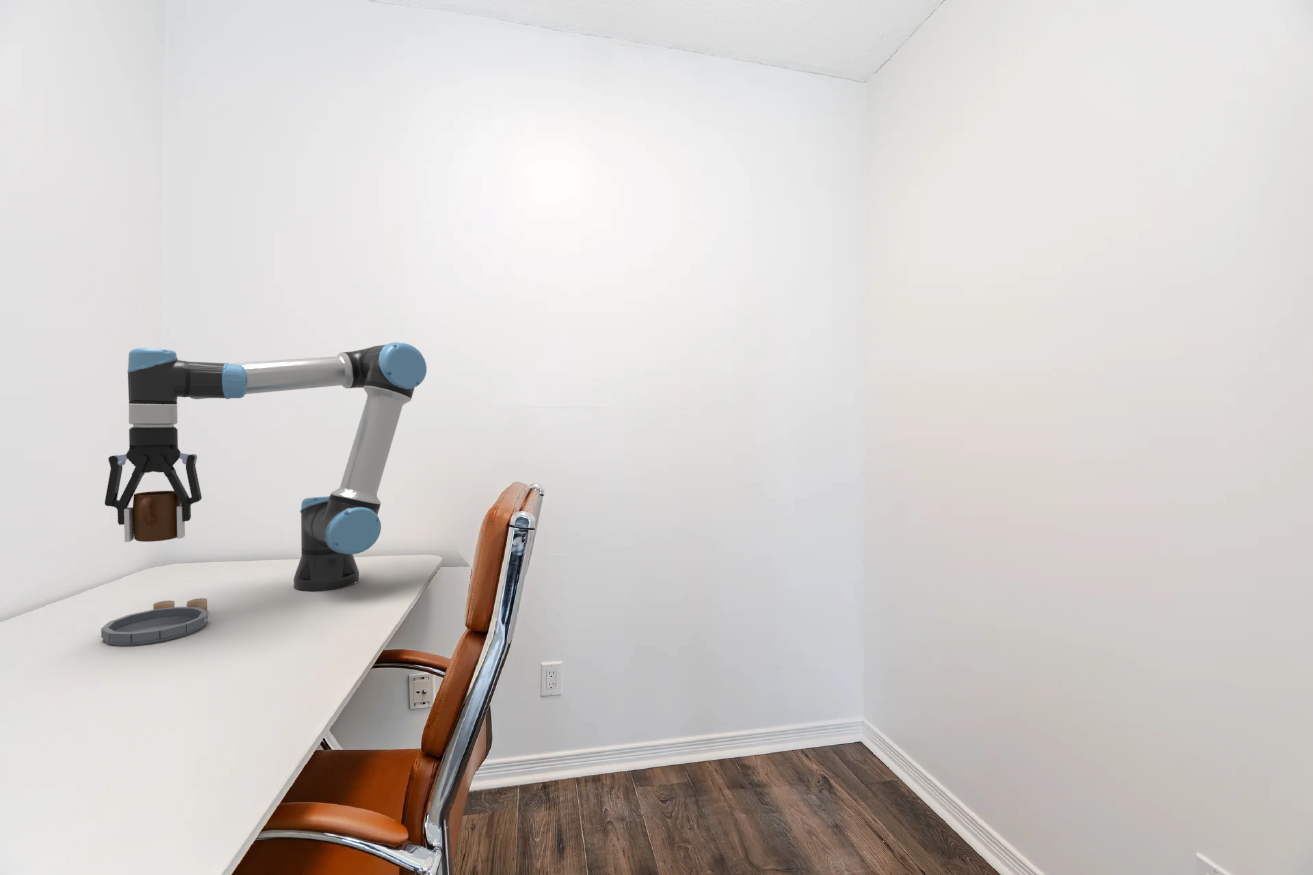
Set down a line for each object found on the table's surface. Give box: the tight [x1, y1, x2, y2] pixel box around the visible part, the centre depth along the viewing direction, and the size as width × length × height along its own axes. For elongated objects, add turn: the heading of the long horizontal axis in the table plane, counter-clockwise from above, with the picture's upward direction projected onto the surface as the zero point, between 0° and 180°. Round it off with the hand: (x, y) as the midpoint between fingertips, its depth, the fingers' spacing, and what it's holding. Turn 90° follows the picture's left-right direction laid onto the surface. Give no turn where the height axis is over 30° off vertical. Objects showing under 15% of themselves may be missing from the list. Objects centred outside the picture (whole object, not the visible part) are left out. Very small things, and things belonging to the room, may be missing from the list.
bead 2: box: [186, 597, 208, 611], centre depth 134 cm, size 4×4×3 cm
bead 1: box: [152, 600, 176, 610], centre depth 132 cm, size 4×4×3 cm
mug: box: [132, 490, 181, 543], centre depth 122 cm, size 12×8×9 cm, turn 24°
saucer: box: [100, 606, 209, 647], centre depth 123 cm, size 16×16×2 cm
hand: (155, 538), depth 122 cm, fingers closed on mug, 8 cm apart
